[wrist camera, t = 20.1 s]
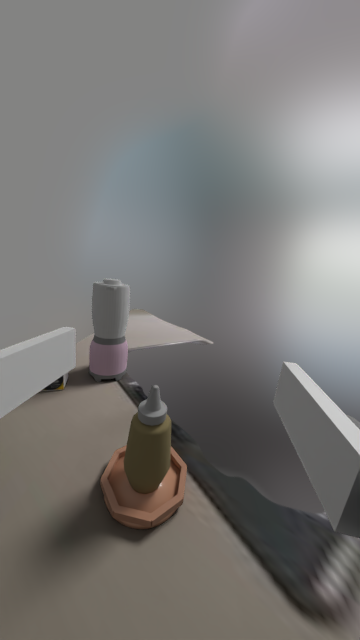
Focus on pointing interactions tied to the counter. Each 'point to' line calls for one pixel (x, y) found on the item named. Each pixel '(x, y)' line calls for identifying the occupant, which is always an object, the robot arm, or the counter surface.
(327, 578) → the counter surface
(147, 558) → the counter surface
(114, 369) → the blender
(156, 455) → the squeeze bottle
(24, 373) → the robot arm
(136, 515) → the dish
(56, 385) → the medicine bottle
